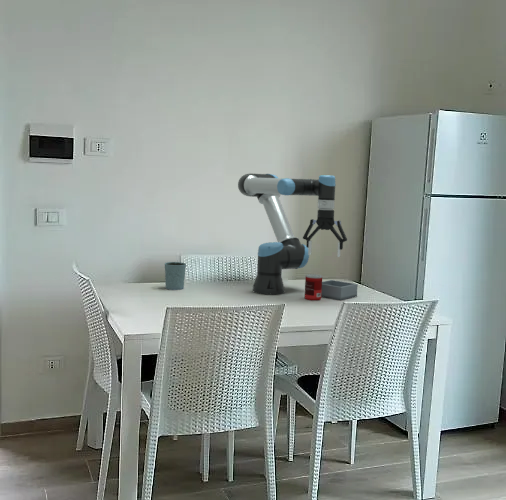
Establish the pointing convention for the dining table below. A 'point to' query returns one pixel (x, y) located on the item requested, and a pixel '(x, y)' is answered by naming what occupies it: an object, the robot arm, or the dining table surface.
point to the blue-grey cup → (175, 275)
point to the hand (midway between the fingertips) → (324, 255)
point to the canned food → (313, 287)
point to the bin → (338, 290)
